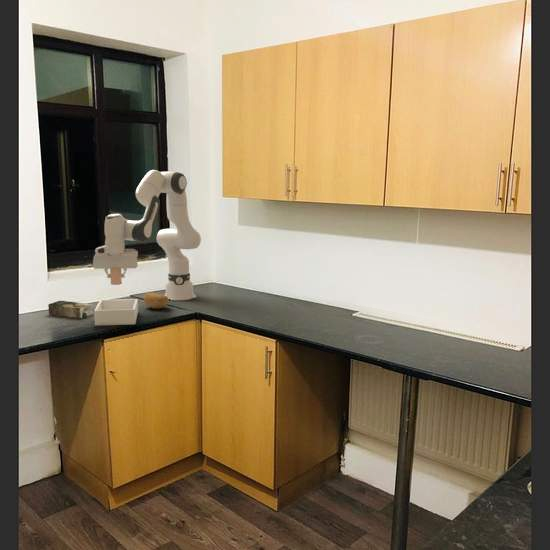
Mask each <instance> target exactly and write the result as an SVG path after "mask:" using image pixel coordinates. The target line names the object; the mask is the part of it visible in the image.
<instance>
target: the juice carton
mask: <svg viewBox="0 0 550 550" xmlns="http://www.w3.org/2000/svg"><path fill="white" fill-rule="evenodd" d="M47 306H48V315H50V314H51V315H50V316H52V315H54V316H55V315H59V316H58V317H61V316H68V317H67V318H71V317H75V318H74V319H79V318H82V319H84V318H86V317H89V316H92V315H94V314H93V309H94V308H93V304H91V303H84V302H76V301H67V300H58V301H55V302H52V303H48V305H47Z"/></svg>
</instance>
